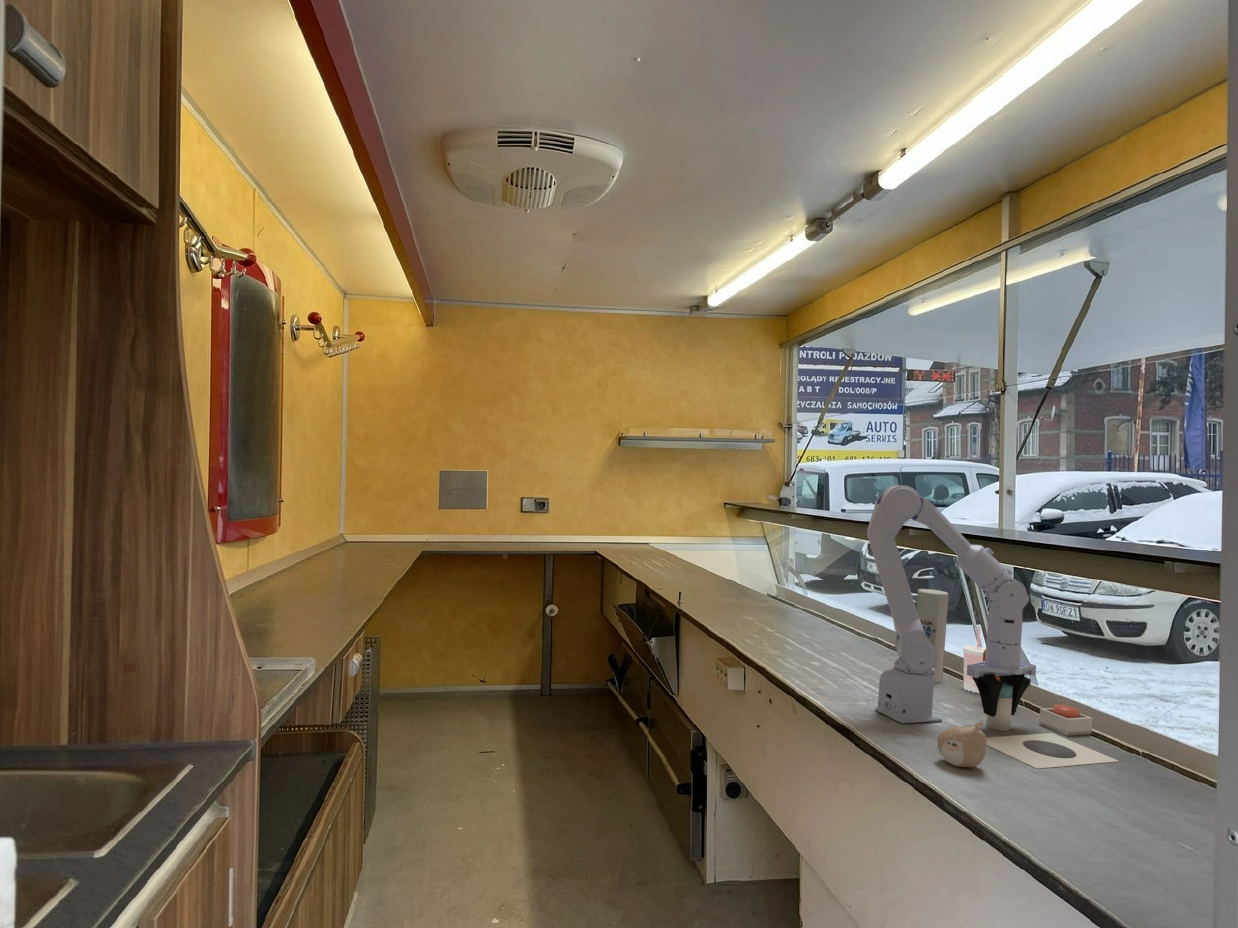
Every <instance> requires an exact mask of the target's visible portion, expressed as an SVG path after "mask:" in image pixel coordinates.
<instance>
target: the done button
mask: <svg viewBox="0 0 1238 928" xmlns="http://www.w3.org/2000/svg"><path fill="white" fill-rule="evenodd" d="M1052 708H1053V713H1055V714H1057V715H1060V716H1063V717H1065V718H1068V719H1069V718H1079V713H1080V709H1079V708H1077V707H1075V706H1070V705H1066V704H1054V705H1053V707H1052Z"/></svg>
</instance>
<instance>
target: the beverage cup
mask: <svg viewBox="0 0 1238 928" xmlns="http://www.w3.org/2000/svg"><path fill="white" fill-rule="evenodd" d="M980 637H981V625H978V626H977V636H976V645H975V646H974V645H964V646H962V652H963V689H964V690H965V691H967V690H968V692H970V691H972V692H971V693H975V692H977V694H980V693H979V690H978V688H977V686H976V684H975V682H974V680H973V678H972V677H971V676H969V675H967V665H968V664H976V663H980V662H983V652H984V650H985V649H986V647H982V646H980V640H981V638H980Z"/></svg>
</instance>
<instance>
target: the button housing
mask: <svg viewBox="0 0 1238 928" xmlns="http://www.w3.org/2000/svg"><path fill="white" fill-rule="evenodd" d="M1038 721H1039V722H1038V723H1039V726H1041V727H1044V728H1047V729H1049V730H1052V731H1054V732H1056V733H1059V734H1061V735H1064V736H1067V737H1069V736H1070V737H1072V736H1084V735H1085V736H1087V735H1093V734H1092V732H1093V717H1091V716H1088V715H1085V714H1083V713H1080V712H1079V718H1069V719H1068V718H1065V717H1063V716H1060V715H1057V714H1055V713H1053V707H1049V708H1040V709H1039V720H1038Z"/></svg>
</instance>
